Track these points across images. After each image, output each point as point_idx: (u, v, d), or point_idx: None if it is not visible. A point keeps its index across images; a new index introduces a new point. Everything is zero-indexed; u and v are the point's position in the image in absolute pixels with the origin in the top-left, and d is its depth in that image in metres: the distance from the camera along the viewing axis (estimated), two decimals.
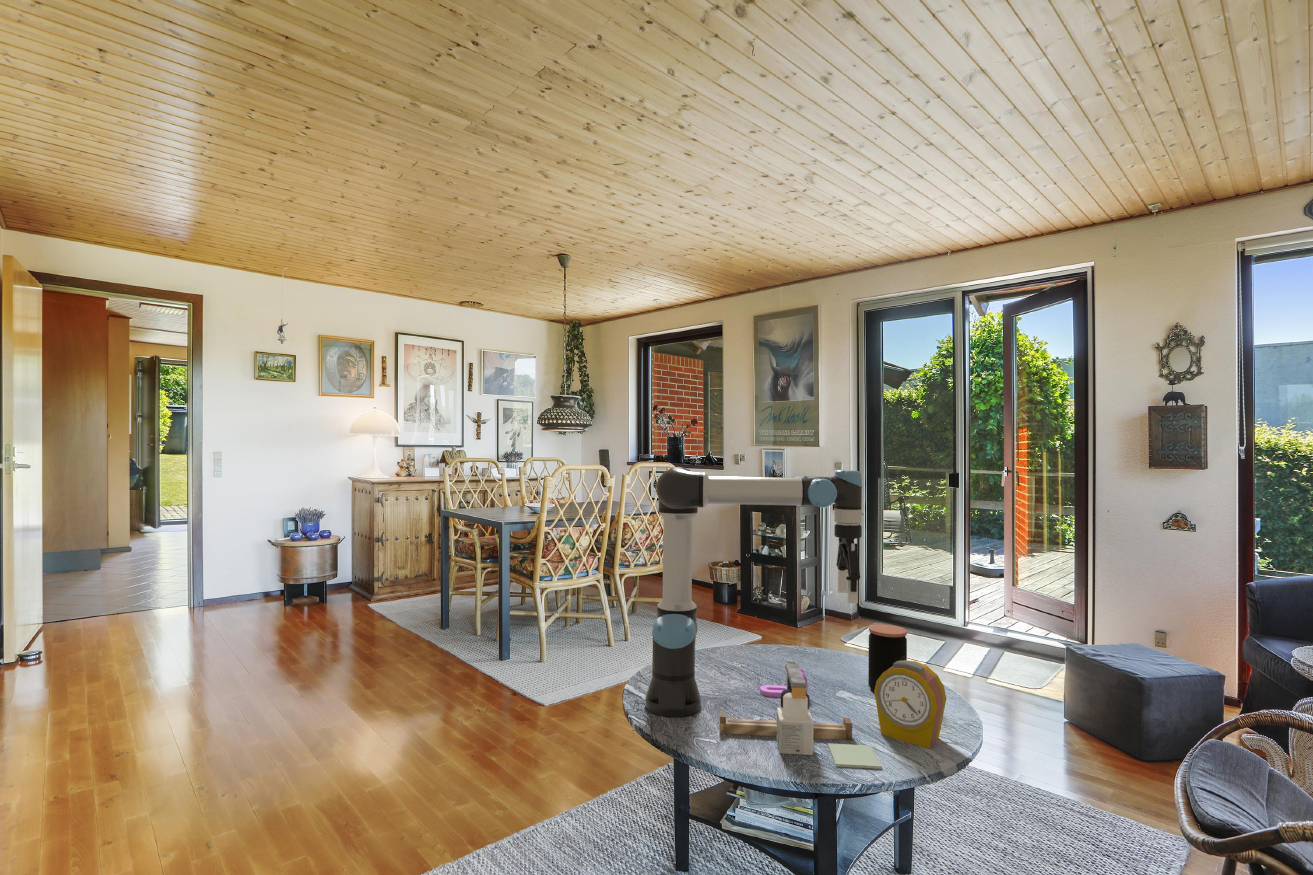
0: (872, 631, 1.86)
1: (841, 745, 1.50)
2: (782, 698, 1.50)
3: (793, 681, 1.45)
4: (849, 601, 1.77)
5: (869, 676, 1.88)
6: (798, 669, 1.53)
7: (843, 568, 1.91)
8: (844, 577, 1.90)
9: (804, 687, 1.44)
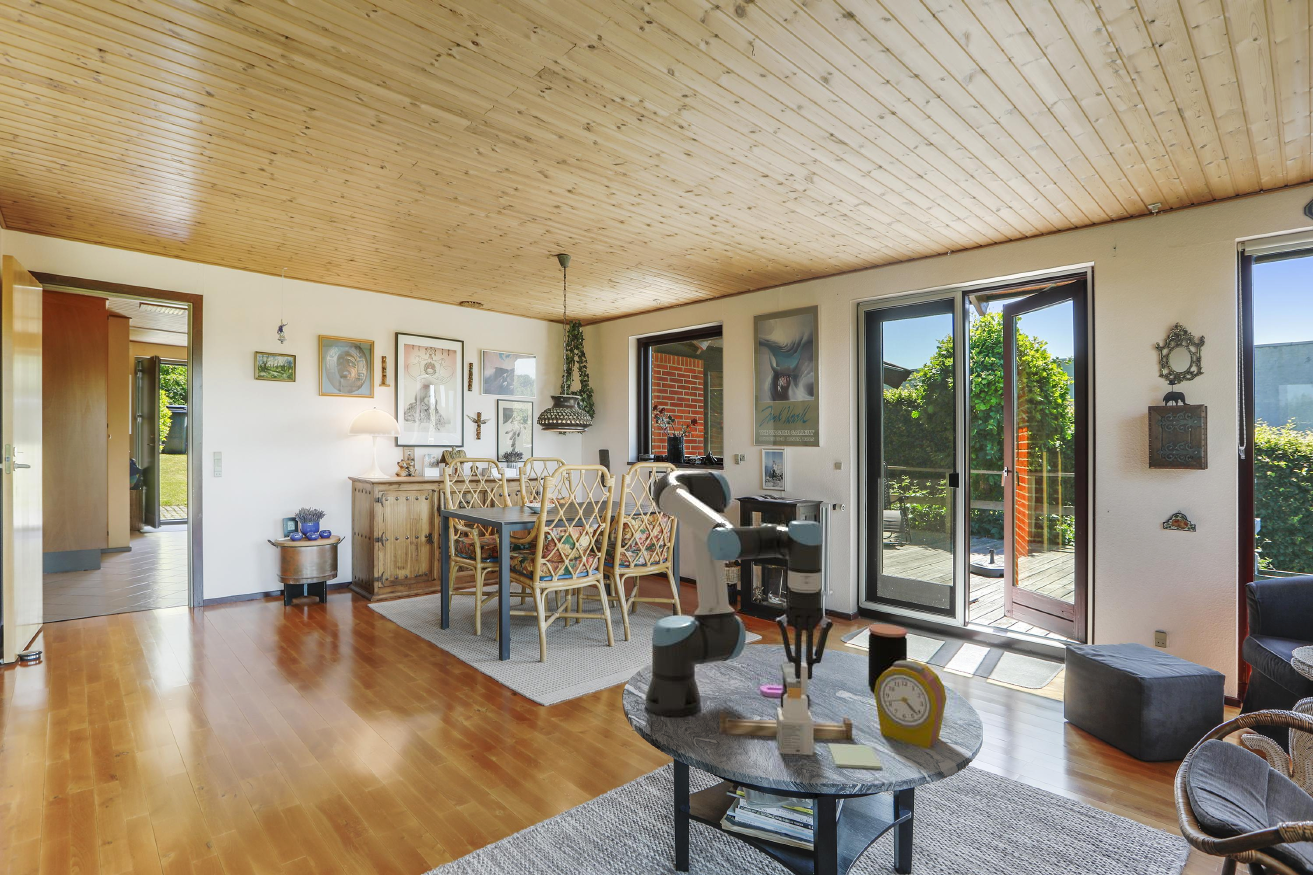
0: (872, 631, 1.86)
1: (841, 745, 1.50)
2: (782, 698, 1.50)
3: (788, 681, 1.45)
4: None
5: (869, 676, 1.88)
6: (794, 669, 1.53)
7: (807, 660, 1.45)
8: None
9: (799, 687, 1.44)
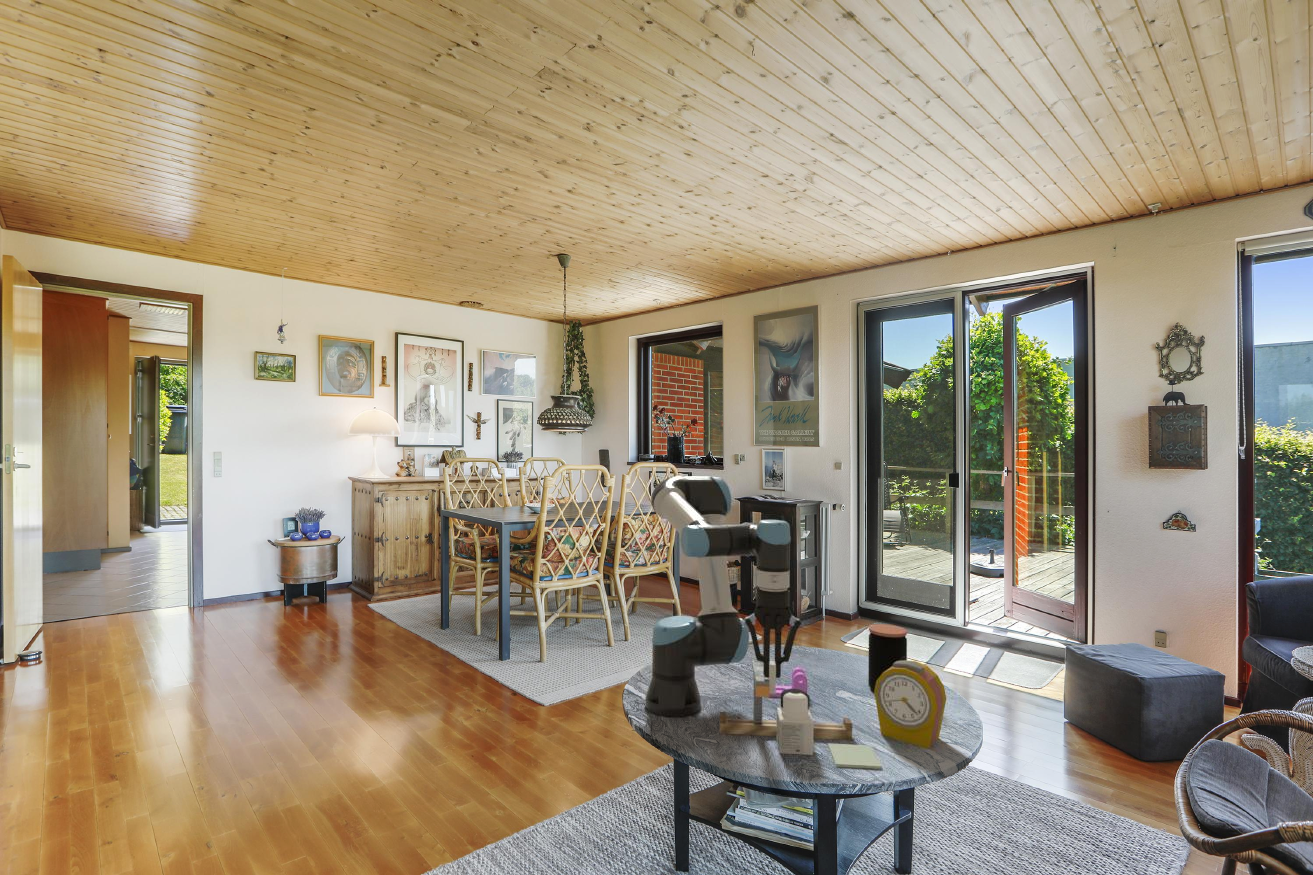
0: (872, 631, 1.86)
1: (841, 745, 1.50)
2: (782, 698, 1.50)
3: (757, 679, 1.46)
4: None
5: (869, 676, 1.88)
6: None
7: (775, 659, 1.46)
8: None
9: (767, 685, 1.44)
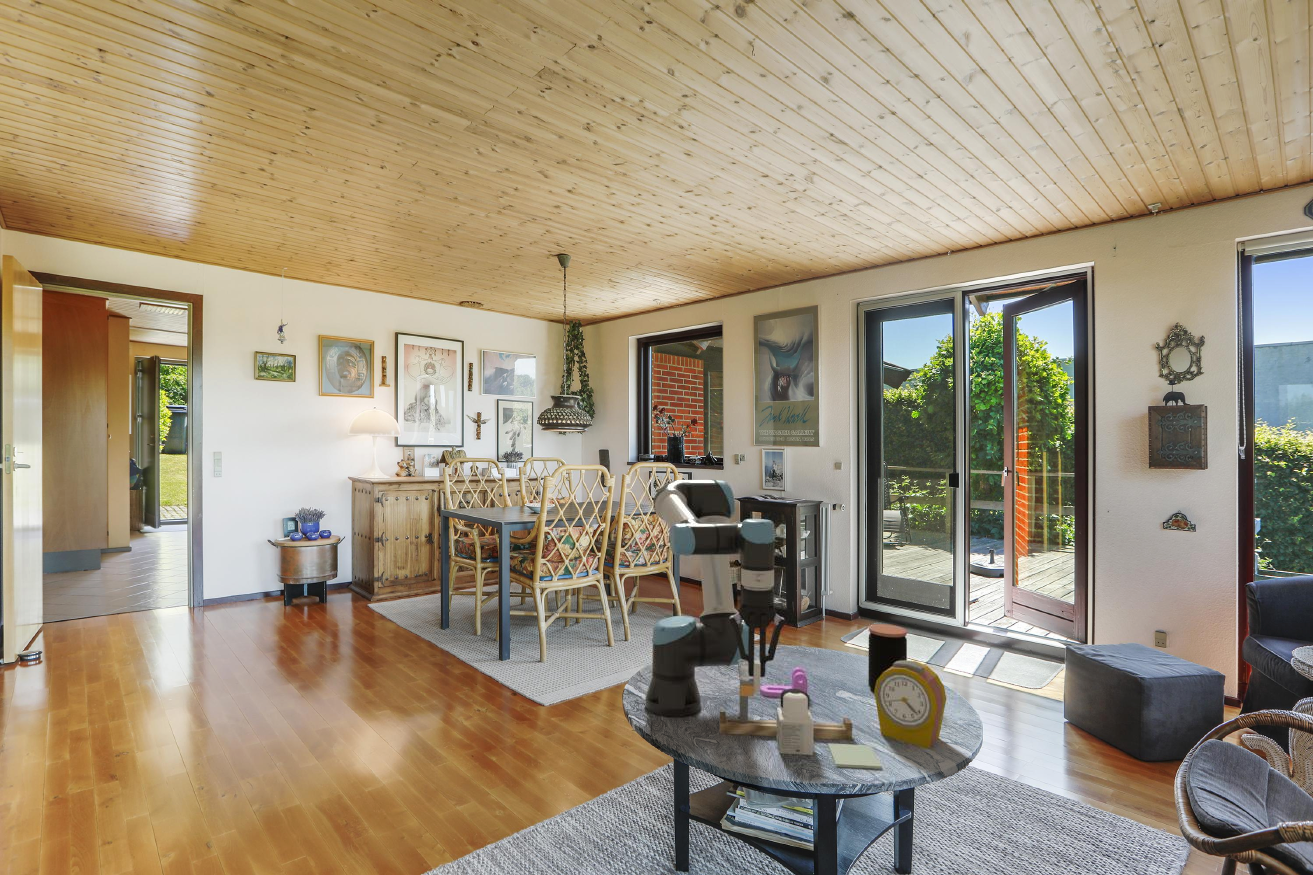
0: (872, 631, 1.86)
1: (841, 745, 1.50)
2: (782, 698, 1.50)
3: (741, 679, 1.46)
4: None
5: (869, 676, 1.88)
6: None
7: None
8: None
9: (752, 685, 1.45)
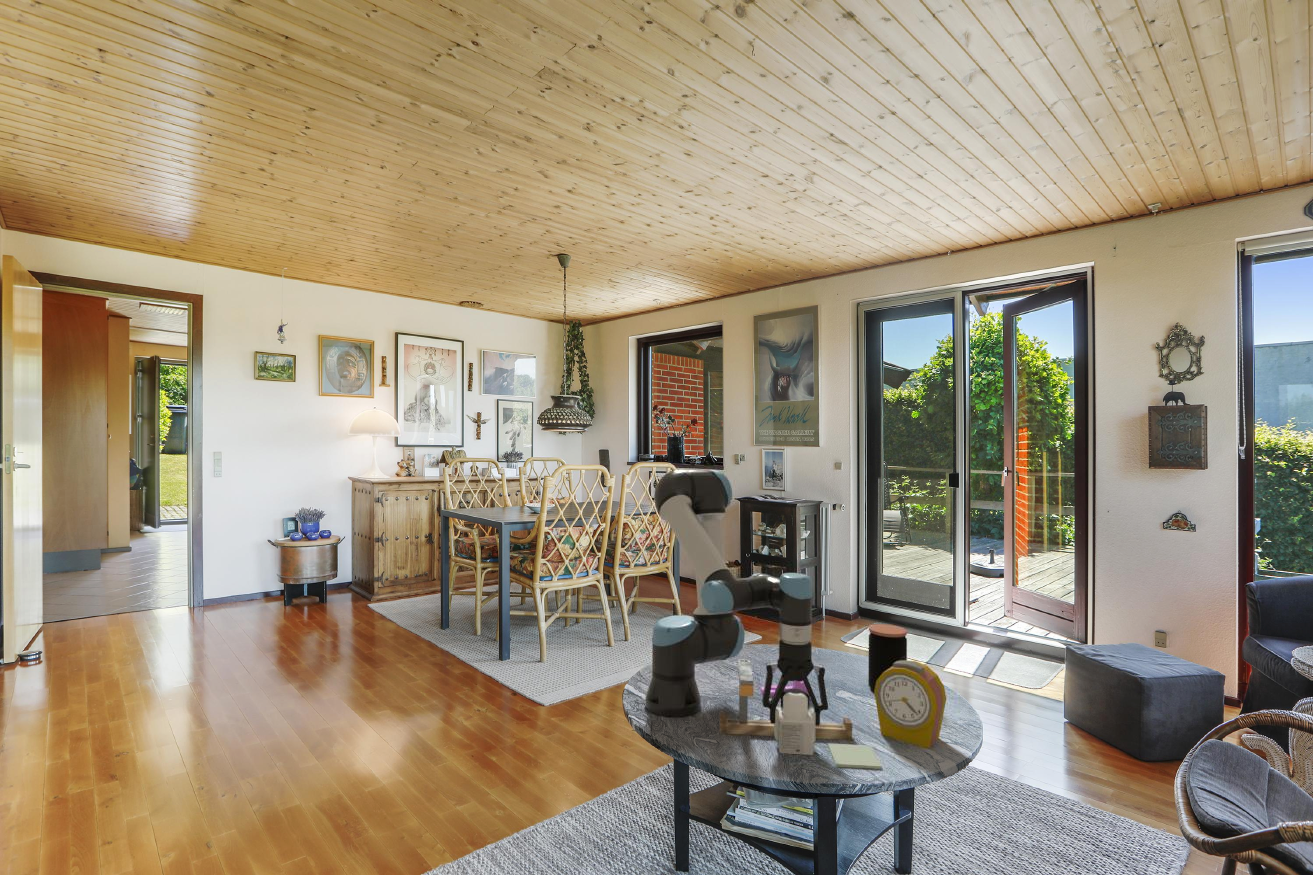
0: (872, 631, 1.86)
1: (841, 745, 1.50)
2: (782, 698, 1.50)
3: (741, 679, 1.46)
4: (774, 732, 1.52)
5: (869, 676, 1.88)
6: (749, 667, 1.54)
7: None
8: None
9: (752, 685, 1.45)
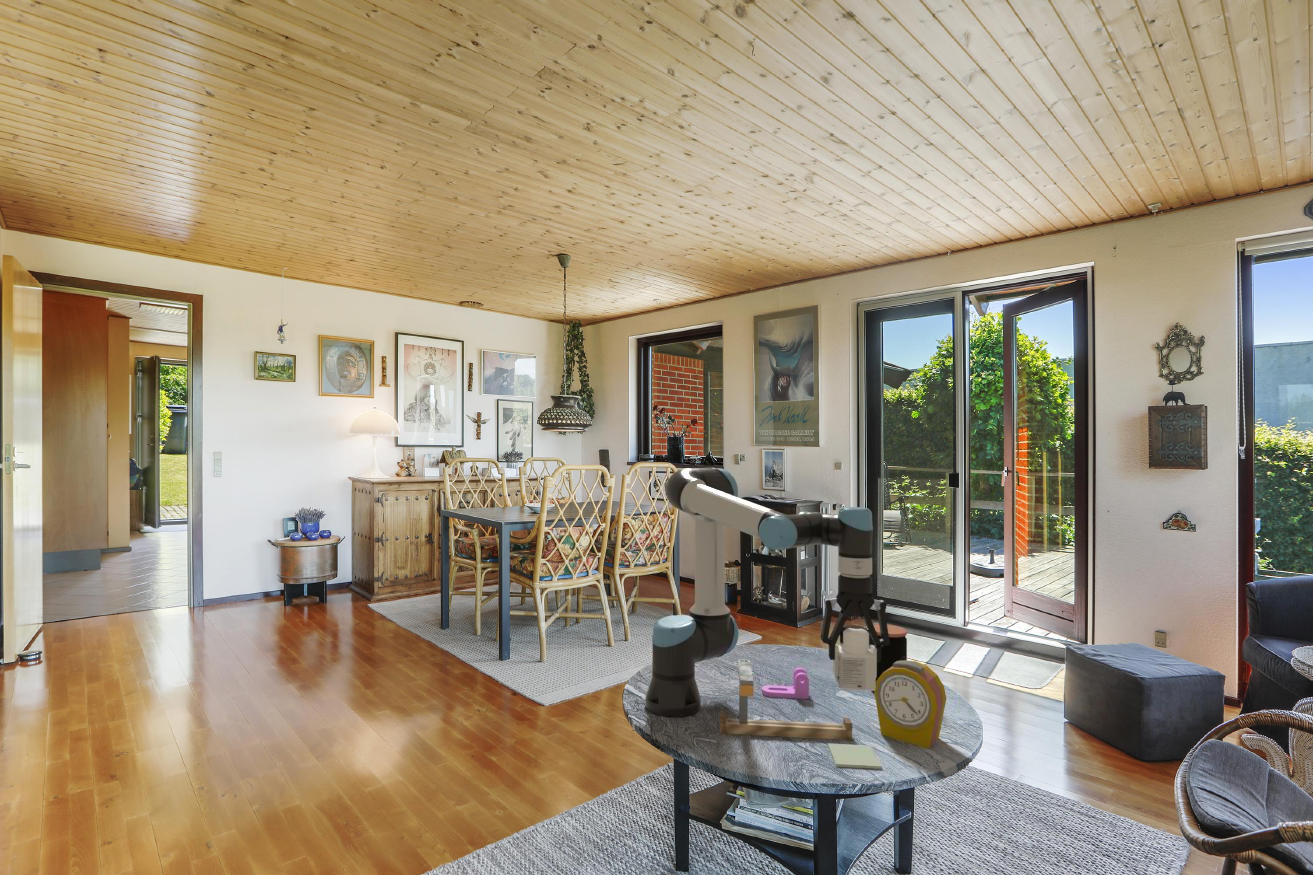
0: None
1: (841, 745, 1.50)
2: (842, 633, 1.46)
3: (741, 679, 1.46)
4: (833, 670, 1.48)
5: None
6: (749, 667, 1.54)
7: (875, 643, 1.46)
8: None
9: (752, 685, 1.45)
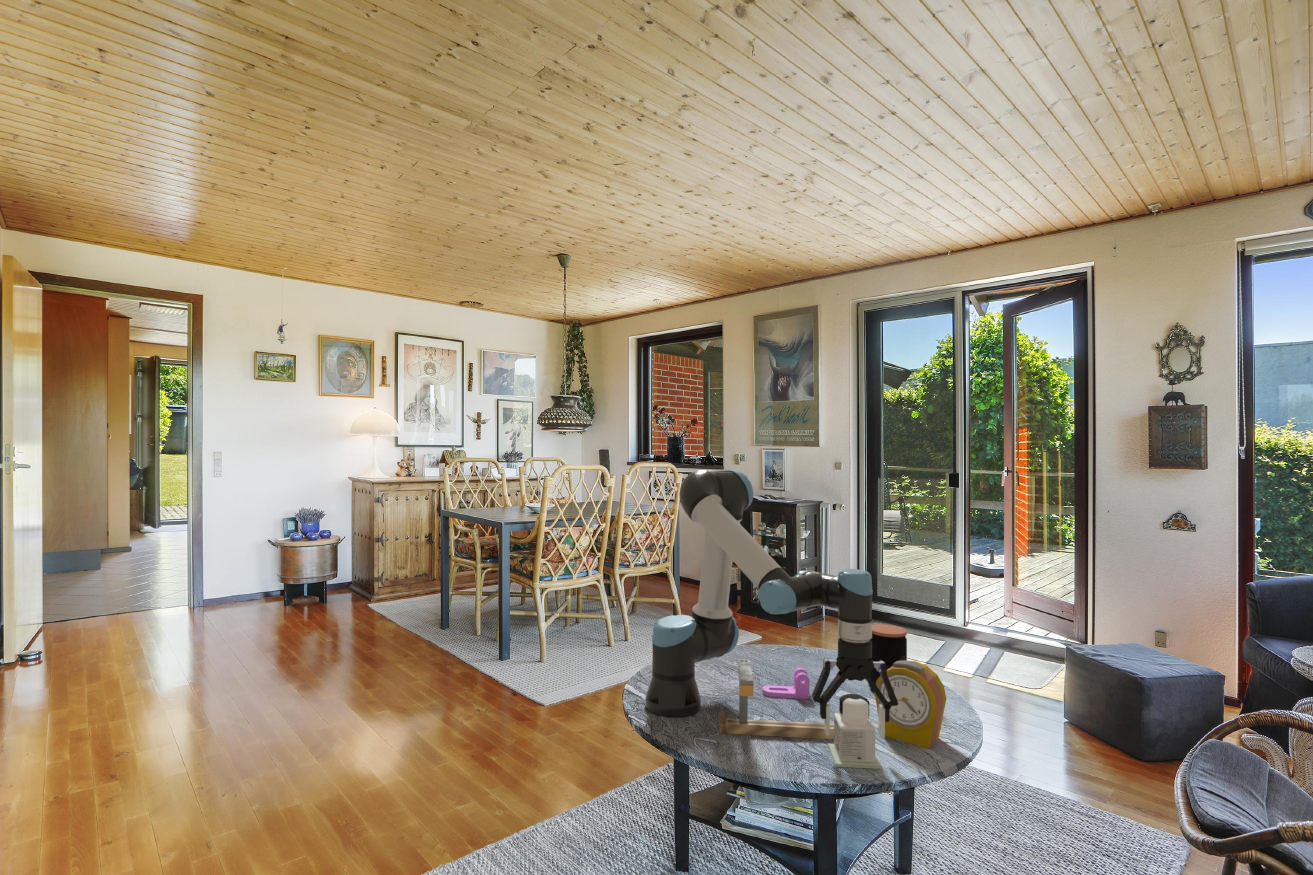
0: (872, 631, 1.86)
1: None
2: (842, 704, 1.45)
3: (741, 679, 1.46)
4: (824, 728, 1.48)
5: None
6: (749, 667, 1.54)
7: None
8: (880, 715, 1.45)
9: (752, 685, 1.45)
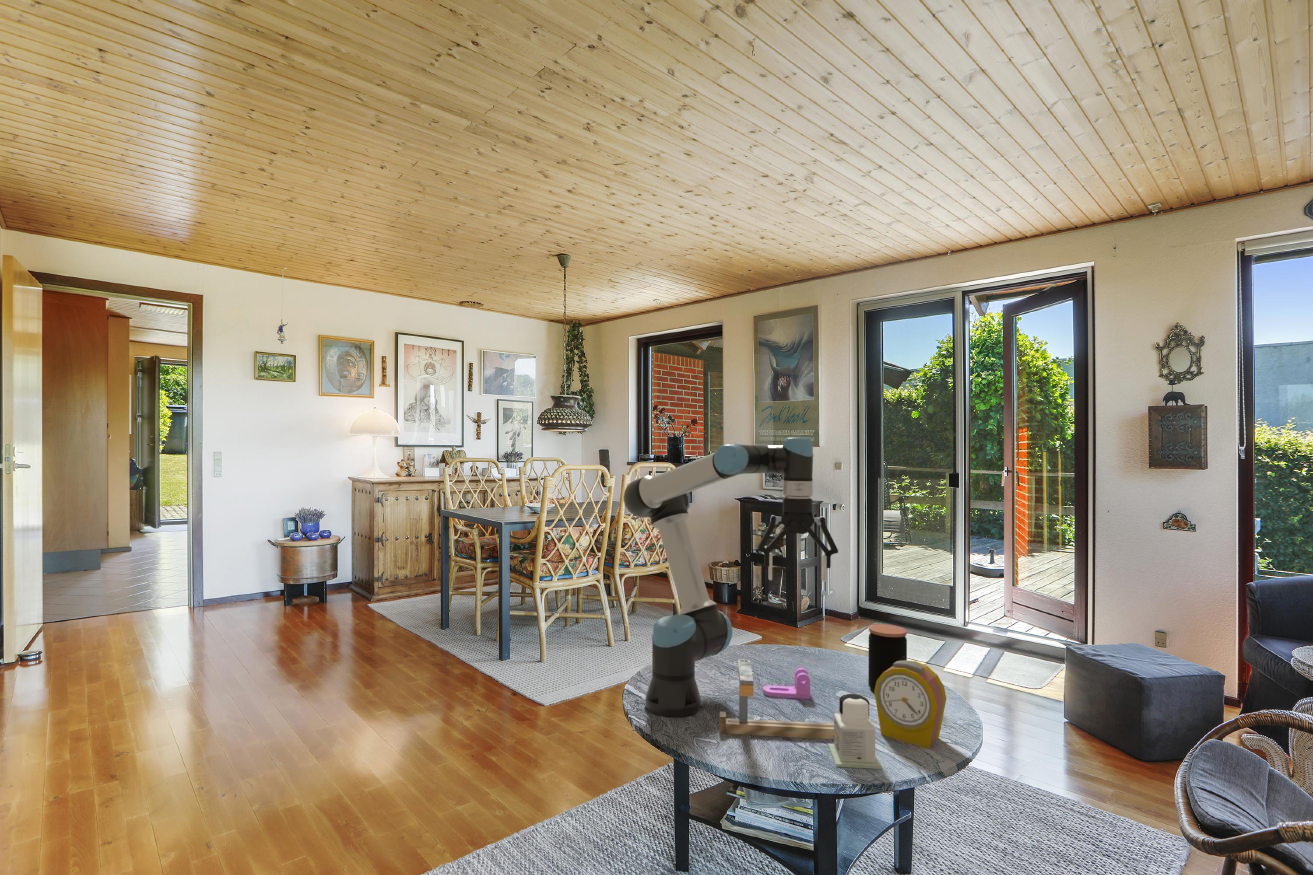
0: (872, 631, 1.86)
1: None
2: (842, 704, 1.45)
3: (741, 679, 1.46)
4: (768, 576, 1.66)
5: (869, 676, 1.88)
6: (749, 667, 1.54)
7: (825, 553, 1.63)
8: (822, 563, 1.63)
9: (752, 685, 1.45)
